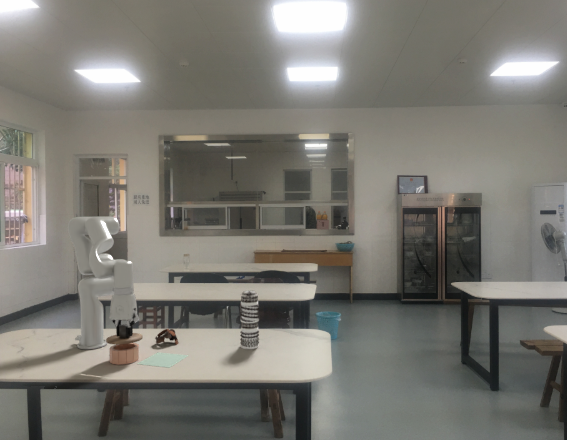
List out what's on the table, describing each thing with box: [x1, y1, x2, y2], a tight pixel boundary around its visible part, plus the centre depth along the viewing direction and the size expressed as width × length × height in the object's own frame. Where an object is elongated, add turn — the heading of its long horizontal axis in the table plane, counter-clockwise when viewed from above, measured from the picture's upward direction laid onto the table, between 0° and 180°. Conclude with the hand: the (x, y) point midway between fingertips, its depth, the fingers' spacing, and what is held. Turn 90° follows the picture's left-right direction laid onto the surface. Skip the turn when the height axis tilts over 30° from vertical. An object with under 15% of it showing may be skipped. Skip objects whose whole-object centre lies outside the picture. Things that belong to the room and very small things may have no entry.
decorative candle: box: [238, 290, 260, 350], centre depth 195 cm, size 9×9×25 cm
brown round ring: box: [154, 328, 179, 346], centre depth 200 cm, size 12×10×8 cm
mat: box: [136, 351, 189, 368], centre depth 177 cm, size 15×15×1 cm
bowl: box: [109, 342, 140, 366], centre depth 176 cm, size 11×11×6 cm
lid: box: [105, 323, 143, 345], centre depth 176 cm, size 14×14×6 cm
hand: (124, 335), depth 176 cm, fingers closed on lid, 4 cm apart
